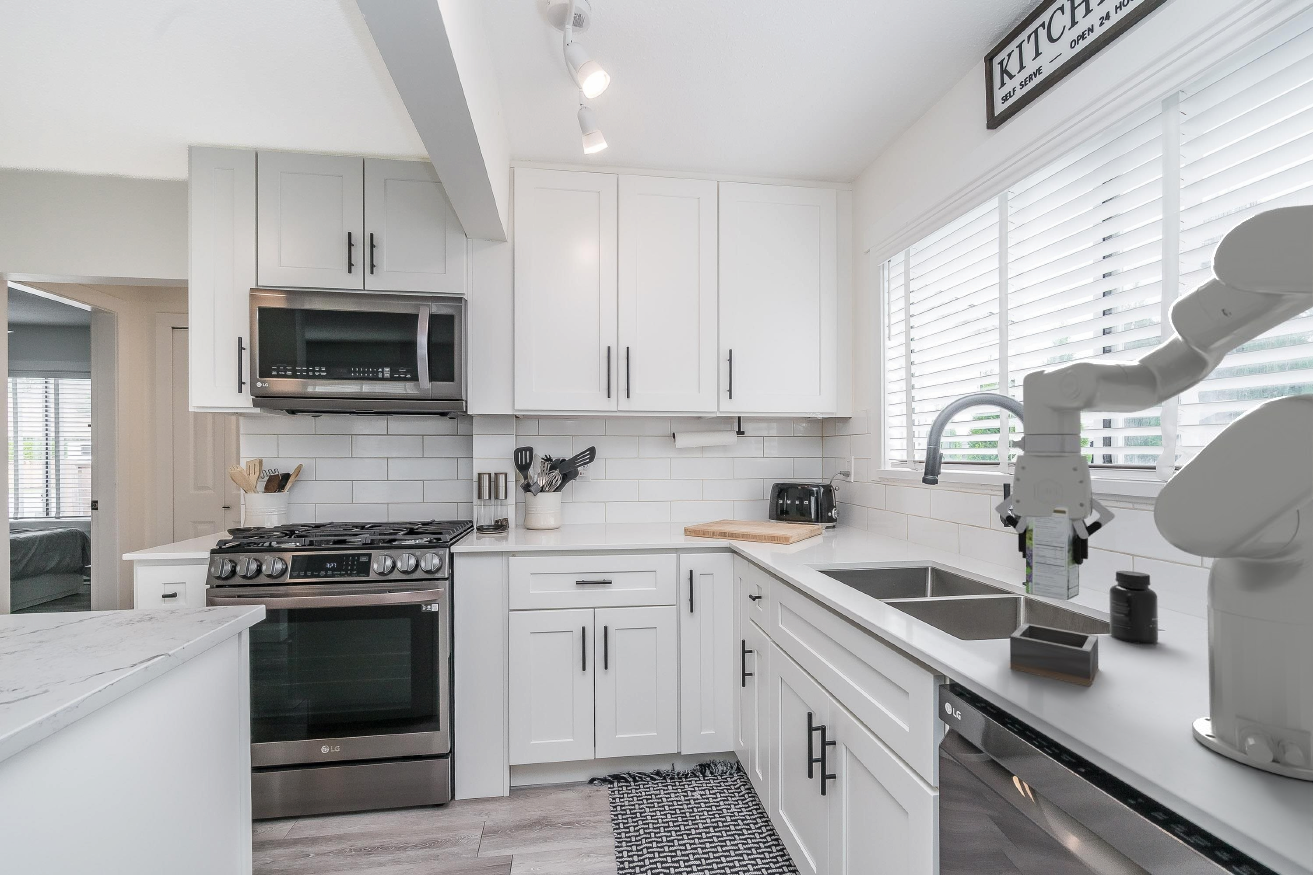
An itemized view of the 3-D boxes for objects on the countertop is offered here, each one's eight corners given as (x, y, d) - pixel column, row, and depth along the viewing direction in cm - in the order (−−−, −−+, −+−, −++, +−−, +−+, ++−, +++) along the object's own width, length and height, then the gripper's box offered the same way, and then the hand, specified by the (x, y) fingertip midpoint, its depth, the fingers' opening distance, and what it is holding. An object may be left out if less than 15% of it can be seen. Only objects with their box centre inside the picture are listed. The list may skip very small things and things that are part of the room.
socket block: (1090, 686, 82) (1089, 651, 82) (1010, 668, 89) (1010, 636, 89) (1098, 667, 89) (1097, 635, 90) (1023, 652, 96) (1023, 622, 96)
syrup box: (1037, 588, 94) (1036, 500, 94) (1081, 596, 89) (1079, 503, 90) (1025, 594, 90) (1024, 502, 91) (1069, 601, 86) (1068, 505, 86)
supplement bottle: (1166, 646, 100) (1165, 578, 100) (1119, 642, 102) (1118, 575, 102) (1147, 635, 106) (1146, 570, 107) (1103, 631, 109) (1102, 568, 109)
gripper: (984, 446, 94) (984, 556, 93) (1119, 446, 82) (1120, 572, 81) (995, 447, 99) (996, 550, 99) (1123, 447, 87) (1125, 564, 87)
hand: (1052, 559), depth 90 cm, fingers closed on syrup box, 6 cm apart
